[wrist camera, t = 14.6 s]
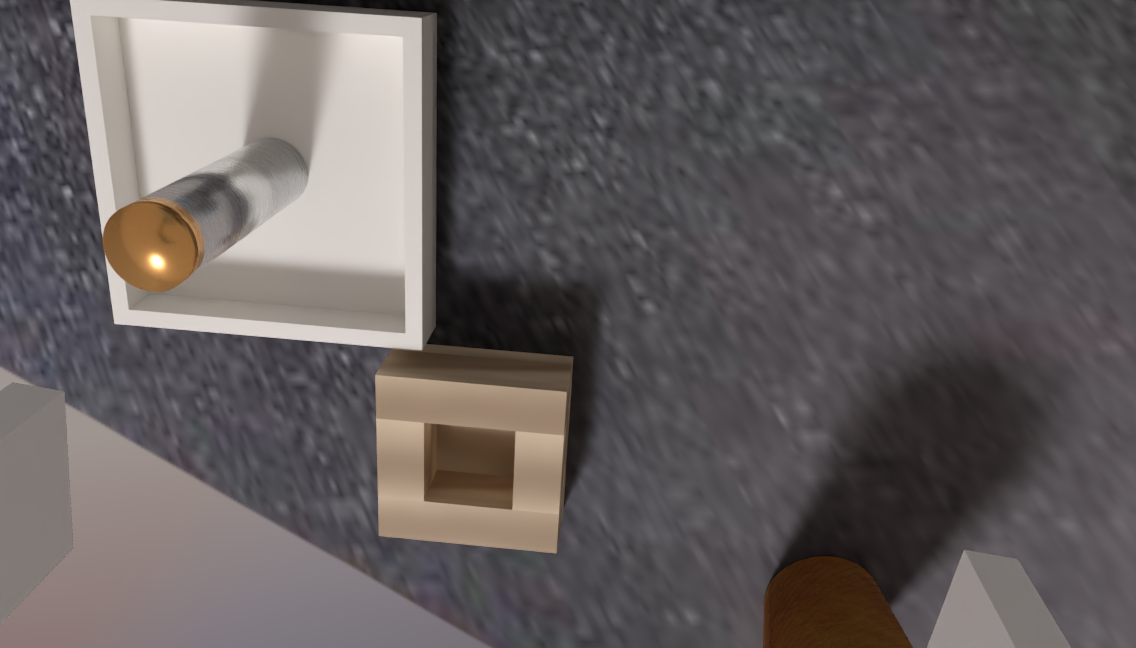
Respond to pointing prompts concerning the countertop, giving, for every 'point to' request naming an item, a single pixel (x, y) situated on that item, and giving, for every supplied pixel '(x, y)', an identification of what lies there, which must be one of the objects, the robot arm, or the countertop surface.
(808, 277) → the countertop surface
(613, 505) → the countertop surface
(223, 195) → the pin
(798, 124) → the countertop surface
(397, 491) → the socket block
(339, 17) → the rectangular frame
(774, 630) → the disposable coffee cup
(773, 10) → the countertop surface
